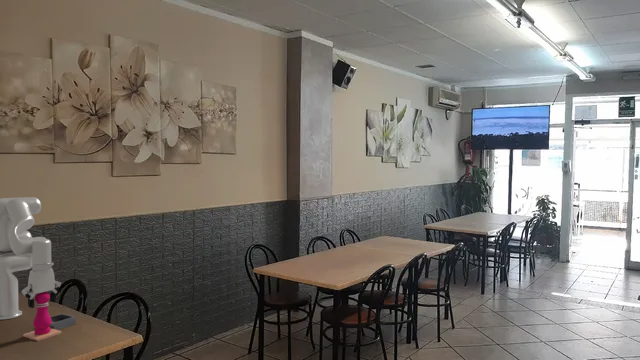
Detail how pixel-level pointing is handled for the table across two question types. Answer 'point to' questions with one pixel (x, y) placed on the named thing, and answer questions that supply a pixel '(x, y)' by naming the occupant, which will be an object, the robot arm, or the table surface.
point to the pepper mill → (42, 314)
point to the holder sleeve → (62, 321)
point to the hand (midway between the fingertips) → (42, 304)
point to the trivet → (40, 337)
